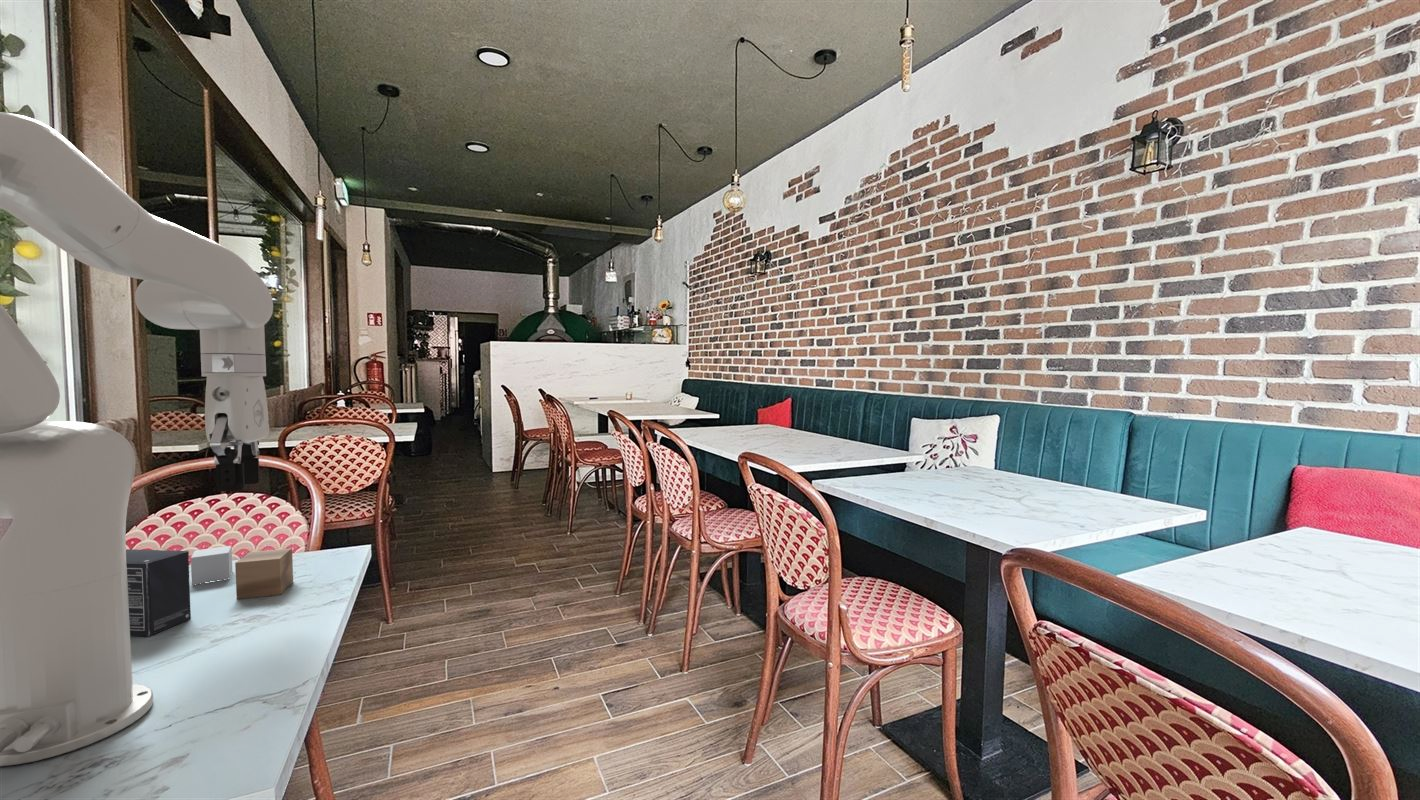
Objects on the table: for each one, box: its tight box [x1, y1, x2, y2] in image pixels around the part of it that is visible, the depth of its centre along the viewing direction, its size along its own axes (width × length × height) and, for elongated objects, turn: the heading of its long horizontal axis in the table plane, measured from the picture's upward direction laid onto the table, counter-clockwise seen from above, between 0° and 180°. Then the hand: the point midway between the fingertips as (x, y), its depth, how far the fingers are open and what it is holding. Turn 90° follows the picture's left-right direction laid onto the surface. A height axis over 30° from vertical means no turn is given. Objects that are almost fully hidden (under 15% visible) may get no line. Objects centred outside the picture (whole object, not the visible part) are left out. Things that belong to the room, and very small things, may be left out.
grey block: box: [190, 545, 233, 586], centre depth 103 cm, size 5×5×5 cm
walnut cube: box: [234, 547, 294, 600], centre depth 97 cm, size 6×6×6 cm
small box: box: [126, 548, 192, 638], centre depth 83 cm, size 11×6×10 cm, turn 84°
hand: (239, 485), depth 88 cm, fingers open, 4 cm apart
